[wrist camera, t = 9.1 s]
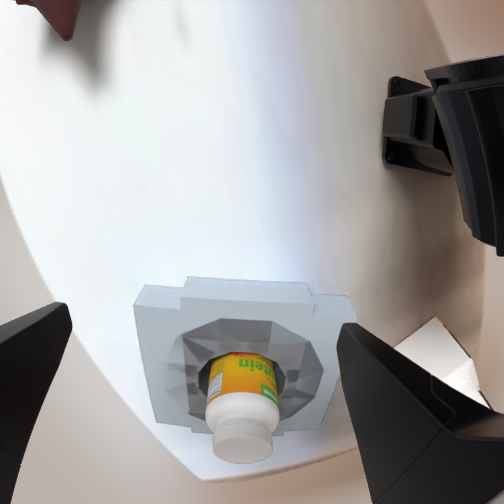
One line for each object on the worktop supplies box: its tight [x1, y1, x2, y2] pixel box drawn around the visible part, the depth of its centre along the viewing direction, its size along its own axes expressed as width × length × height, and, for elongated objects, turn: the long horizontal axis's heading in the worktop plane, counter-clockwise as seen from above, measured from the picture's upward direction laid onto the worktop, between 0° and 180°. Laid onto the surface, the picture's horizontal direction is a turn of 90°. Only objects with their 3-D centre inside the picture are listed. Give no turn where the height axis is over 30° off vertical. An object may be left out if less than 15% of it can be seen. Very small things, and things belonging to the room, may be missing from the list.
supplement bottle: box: [206, 352, 279, 464], centre depth 21 cm, size 5×5×10 cm
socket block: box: [133, 277, 358, 436], centre depth 24 cm, size 16×16×3 cm
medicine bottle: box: [394, 317, 493, 410], centre depth 21 cm, size 7×7×12 cm
